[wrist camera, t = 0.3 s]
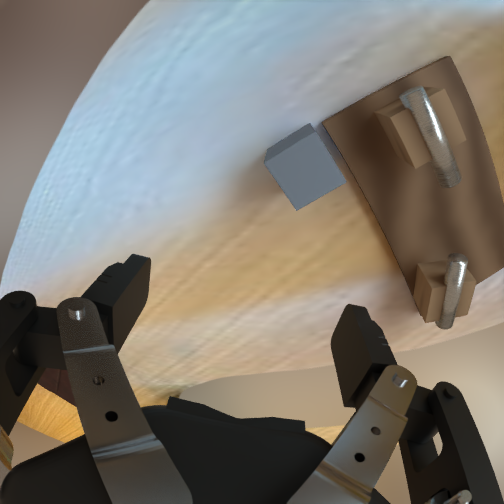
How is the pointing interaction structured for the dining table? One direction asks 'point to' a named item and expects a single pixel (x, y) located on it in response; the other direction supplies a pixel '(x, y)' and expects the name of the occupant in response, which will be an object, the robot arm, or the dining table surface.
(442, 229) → the base board
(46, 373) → the notebook
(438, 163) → the shaft
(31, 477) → the robot arm
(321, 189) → the block
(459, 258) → the shaft
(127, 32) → the dining table surface
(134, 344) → the dining table surface
